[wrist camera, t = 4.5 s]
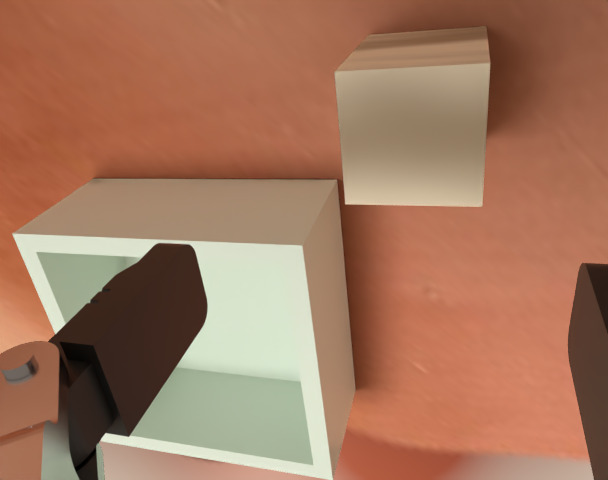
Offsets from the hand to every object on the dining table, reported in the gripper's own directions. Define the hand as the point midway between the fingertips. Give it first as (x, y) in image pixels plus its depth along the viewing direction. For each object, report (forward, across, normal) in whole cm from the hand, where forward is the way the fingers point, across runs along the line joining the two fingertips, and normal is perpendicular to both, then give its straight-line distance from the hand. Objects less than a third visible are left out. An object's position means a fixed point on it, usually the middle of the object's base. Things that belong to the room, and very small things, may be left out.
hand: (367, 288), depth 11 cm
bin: (+16, +12, +12) cm, 23 cm away
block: (+16, 0, 0) cm, 16 cm away
